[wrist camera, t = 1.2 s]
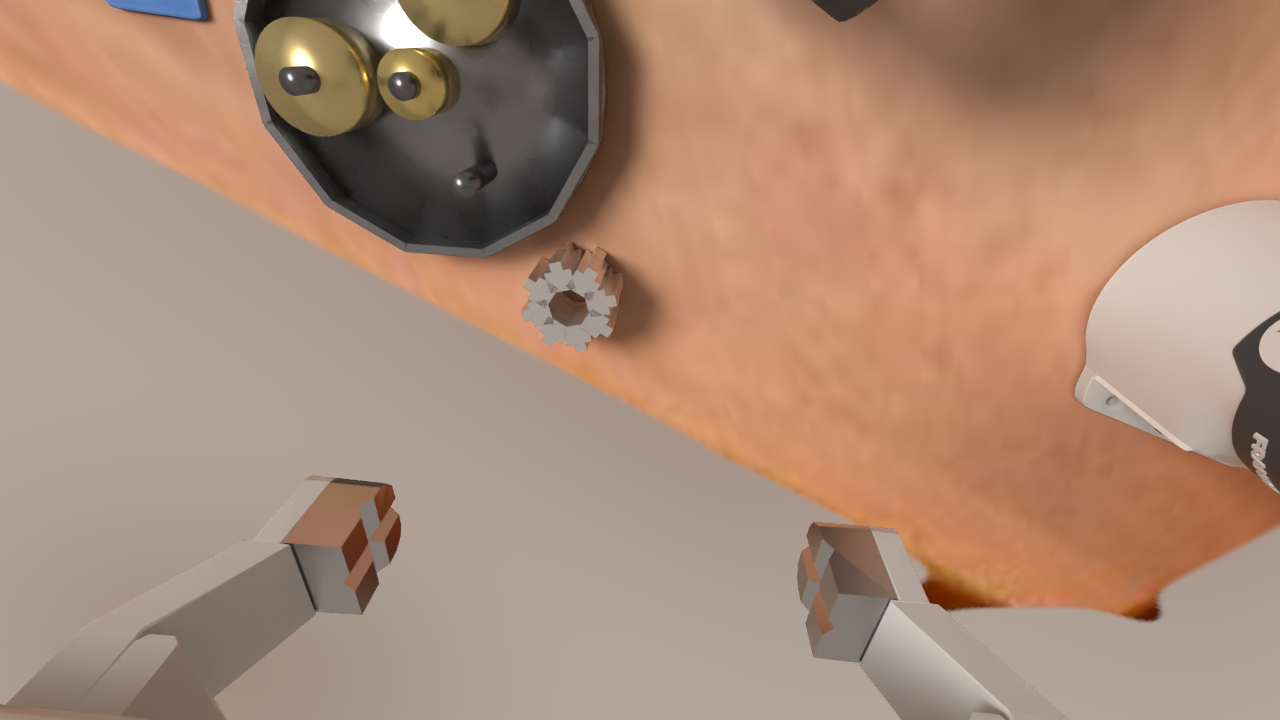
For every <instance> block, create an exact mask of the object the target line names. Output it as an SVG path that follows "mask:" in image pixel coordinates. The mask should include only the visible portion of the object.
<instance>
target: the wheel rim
mask: <svg viewBox="0 0 1280 720" xmlns="http://www.w3.org/2000/svg"><path fill="white" fill-rule="evenodd" d="M812 1H813V2H814V3H815V4H817V5H818V6H819V7H820V8H822V9H823V10H824V11H825V12H827V13H828V14H829V15H830V16H832V17H833V18H834V19H836V20H837V21H838V22H841V21H846V20H848V19H851V18H853V17H855V16H857V15H858V14H860V13H861V12H863V11H864V10H865V9H867V8H868V7H870V6H871V5H873V4H874V3H875V2H877V1H878V0H812Z"/></svg>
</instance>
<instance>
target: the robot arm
mask: <svg viewBox="0 0 1280 720" xmlns="http://www.w3.org/2000/svg"><path fill="white" fill-rule="evenodd" d="M1074 396H1075V398H1076V400H1078V401H1079V402H1080V403H1082V404H1083V405H1084V406H1086V407H1087V408H1089V409H1092V410H1094V411H1096V412H1099V413H1101V414H1104V415H1106V416H1109V417H1111V418H1113V419H1116V420H1118V421H1121V422H1123V423H1125V424H1128V425H1130V426H1133V427H1135V428H1138V429H1140V430H1142V431H1145V432H1147V433H1150V434H1152V435H1155V436H1157V437H1159V438H1162V439H1164V440H1167V441H1169V442H1172V443H1174V444H1176V445H1177V446H1178V447H1180V448H1181V449H1183V450H1185V451H1193V452H1196V453H1198V454H1201V455H1203V456H1206V457H1208V458H1210V459H1213V460H1215V461H1218V462H1220V463H1223V464H1225V465H1228V466H1232V467H1241V468H1244V469H1247V470H1250V471H1253V472H1254V473H1255V474H1256V475H1258V476H1259V477H1260V479H1261V480H1262V481H1263V482H1264V483H1265V484H1266V485H1267V486H1268V487H1270V488H1271V489H1273V490H1274V491H1275V492H1277V493H1278V494H1279V495H1280V200H1255V201H1247V202H1241V203H1235V204H1231V205H1226V206H1222V207H1219V208H1216V209H1212V210H1210V211H1207V212H1204V213H1201V214H1199V215H1196V216H1194V217H1192V218H1190V219H1187V220H1185V221H1183V222H1181V223H1179V224H1177V225H1175V226H1174V227H1172V228H1170V229H1168V230H1167V231H1165V232H1163V233H1162V234H1160V235H1159V236H1157V237H1156V238H1154V239H1153V240H1151V241H1150V242H1148V243H1147V244H1146V245H1144V246H1143V247H1142V248H1141V249H1139V250H1138V251H1137V252H1136V253H1135V254H1134V255H1132V256H1131V257H1130V258H1129V259H1128V260H1127V261H1126V262H1125V263H1124V264H1123V265H1122V266H1121V267H1120V268H1119V269H1118V270H1117V271H1116V273H1115V274H1114V275H1113V276H1112V277H1111V279H1110V280H1109V281H1108V283H1107V284H1106V285H1105V287H1104V288H1103V290H1102V291H1101V293H1100V295H1099V296H1098V298H1097V300H1096V302H1095V304H1094V306H1093V308H1092V311H1091V314H1090V317H1089V320H1088V324H1087V329H1086V365H1085V367H1084V369H1083V371H1082V373H1081V375H1080V377H1079V379H1078V382H1077V384H1076V387H1075V392H1074ZM1109 397H1111V398H1109ZM1108 398H1109V399H1108ZM394 500H395V495H394V491H393V488H392V486H391V485H389V484H385V483H376V482H368V481H359V480H349V479H342V478H329V477H320V476H310V477H308V478H306V479H304V480H303V481H302V482H301V483H300V484H299V486H298V487H297V488H296V489H295V490H294V491H293V493H292V494H291V495H290V496H289V497H288V499H287V500H286V501H285V502H284V503H283V505H282V506H281V507H280V508H279V509H278V510H277V512H276V513H275V514H274V515H273V517H272V518H271V519H270V520H269V521H268V522H267V524H266V525H265V526H264V527H263V529H262V530H261V531H260V532H259V533H258V534H257V535H256V537H255V538H254V539H253V540H252V541H246V540H244V541H242V542H240V543H238V544H236V545H234V546H232V547H231V548H229V549H227V550H225V551H223V552H221V553H219V554H217V555H216V556H214V557H212V558H210V559H208V560H206V561H204V562H202V563H201V564H199V565H197V566H195V567H193V568H191V569H189V570H187V571H185V572H184V573H182V574H180V575H178V576H176V577H174V578H172V579H170V580H169V581H167V582H165V583H163V584H161V585H159V586H157V587H156V588H154V589H152V590H150V591H148V592H146V593H144V594H142V595H140V596H139V597H137V598H135V599H133V600H131V601H129V602H127V603H125V604H124V605H122V606H120V607H118V608H116V609H114V610H112V611H111V612H109V613H107V614H105V615H103V616H101V617H99V618H97V619H95V620H94V621H92V622H90V623H88V624H86V625H85V626H84V627H83V628H82V629H81V630H80V631H79V632H78V633H77V634H76V635H75V636H74V637H73V638H72V639H71V640H70V641H69V642H68V643H67V644H66V645H65V646H64V647H63V648H62V649H61V650H60V651H59V652H58V653H57V654H56V655H55V656H54V657H53V658H52V659H51V660H50V661H49V662H48V663H47V664H46V665H45V666H44V667H43V668H42V669H41V670H40V671H39V672H38V673H37V674H36V675H35V676H34V677H33V678H32V679H31V680H30V681H29V682H28V683H27V684H26V685H25V686H24V687H23V688H22V689H21V690H20V691H19V692H18V693H17V694H16V695H15V696H14V697H13V698H12V699H11V700H10V701H9V702H8V703H7V704H6V705H0V720H226V717H225V716H224V714H223V712H222V711H221V709H220V708H219V706H218V704H217V703H216V701H215V700H214V697H215V696H216V695H217V694H218V693H220V692H221V691H222V690H223V689H224V688H226V687H227V686H228V685H230V684H231V683H232V682H233V681H235V680H236V679H237V678H238V677H240V676H241V675H242V674H243V673H244V672H245V671H247V670H248V669H249V668H251V667H252V666H253V665H254V664H256V663H257V662H258V661H259V660H260V659H262V658H263V657H264V656H265V655H267V654H268V653H269V652H270V651H272V650H273V649H274V648H275V647H277V646H278V645H279V644H280V643H281V642H283V641H284V640H285V639H286V638H288V637H289V636H290V635H291V634H293V633H294V632H295V631H296V630H297V629H299V628H300V627H301V626H302V625H304V624H305V623H306V622H307V621H309V620H310V619H311V618H312V617H313V616H315V615H316V612H327V613H342V614H358V615H362V614H363V612H364V610H365V609H366V607H367V605H368V603H369V601H370V599H371V598H372V595H373V594H374V592H375V590H376V588H377V586H378V585H379V581H378V577H377V572H378V571H380V570H381V569H383V568H384V567H385V566H387V565H388V564H390V562H391V561H392V559H393V556H394V555H395V553H396V551H397V547H398V543H399V540H400V536H401V522H400V517H399V514H398V513H397V512H395V510H394V509H392V508H391V507H390V506H391V505H392V503H393V501H394ZM807 539H808V543H809V547H807V548H806V549H805V550H803V551H802V552H801V556H800V559H799V563H798V574H797V580H798V590H799V595H800V600H801V602H802V603H803V604H804V605H805V607H806V608H807V609H808V610H809V611H810V612H809V615H808V618H807V621H806V627H807V632H808V636H809V640H810V645H811V649H812V654H813V657H815V658H824V659H832V660H840V661H848V662H857V663H860V666H861V668H862V669H863V670H864V672H865V673H866V674H867V676H868V677H869V678H870V679H871V681H872V682H873V683H874V685H875V686H876V687H877V688H878V690H879V691H880V692H881V694H882V695H883V696H884V698H885V699H886V700H887V701H888V703H889V704H890V705H891V707H892V708H893V709H894V710H895V711H896V713H897V714H898V716H899V717H900V718H901V719H902V720H1069V719H1068V718H1067V717H1066V716H1065V715H1064V714H1063V713H1062V712H1060V711H1059V710H1058V709H1057V708H1056V707H1055V706H1054V705H1052V704H1051V703H1050V702H1049V701H1048V700H1047V699H1045V698H1044V697H1043V696H1042V695H1041V694H1040V693H1039V692H1038V691H1036V690H1035V689H1034V688H1033V687H1032V686H1031V685H1030V684H1028V683H1027V682H1026V681H1025V680H1024V679H1023V678H1022V677H1020V676H1019V675H1018V674H1017V673H1016V672H1015V671H1014V670H1012V669H1011V668H1010V667H1009V666H1008V665H1007V664H1006V663H1004V662H1003V661H1002V660H1001V659H1000V658H999V657H998V656H996V655H995V654H994V653H993V652H992V651H991V650H990V649H988V648H987V647H986V646H985V645H984V644H983V643H982V642H980V641H979V640H978V639H977V638H976V637H975V636H974V635H972V634H971V633H970V632H969V631H968V630H967V629H966V628H964V627H963V626H962V625H961V624H960V623H959V622H958V621H956V620H955V619H954V618H953V617H952V616H951V615H950V614H948V613H947V612H946V611H945V610H944V609H943V608H942V607H941V606H939V605H938V604H930V603H929V600H928V598H927V596H926V594H925V592H924V589H923V587H922V585H921V583H920V581H919V578H918V576H917V574H916V572H915V570H914V567H913V565H912V563H911V561H910V559H909V556H908V554H907V552H906V550H905V547H904V545H903V543H902V541H901V539H900V536H899V534H898V532H896V531H895V530H894V529H893V528H883V527H871V526H866V527H865V526H860V525H847V524H834V523H822V522H813V523H812V524H811V526H810V527H809V531H808V533H807Z"/></svg>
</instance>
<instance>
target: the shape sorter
mask: <svg viewBox="0 0 1280 720" xmlns="http://www.w3.org/2000/svg"><path fill="white" fill-rule="evenodd" d="M105 1H106V2H107V3H108V4H109V5H110V6H112V7H115V8H119V9H125V10H132V11H138V12H145V13H152V14H159V15H166V16H173V17H180V18H188V19H195V20H206V19H207V17H208V13H207V9H206V4H205V0H105Z"/></svg>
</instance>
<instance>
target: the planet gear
mask: <svg viewBox="0 0 1280 720" xmlns="http://www.w3.org/2000/svg"><path fill="white" fill-rule="evenodd" d="M606 253H607V252H605V251H603V250H602V249H600V248H599V247H597V248H596V249H595V251H594V252H593V253H592V252H590V251H589V250H586V252H585V253H584V255H583V253H582V249H581V248H580V249H574V246H573V242H567V243H562V244H561V245H560V247H559V248H558V250H557V251H556V253H555V254H554V256H552V258H551V260H550V261H548V260H547V259H545V258H544V257H542V258H541V260H540V261H539V263H538V264H537V265H536V267H535V268H534V270H533V271H532V273H531V274H530V276H529V277H528V279H527V280H526V282H525V284H524V286H523V288H525V289H526V290H528V291H530V294H529V296H528V297H527V298H529V299H528V301H527V302H526V304H525V305H524V307H523V309H522V310H521V313H522V316H523V318H524V321H531V320H533V322H534V325H535V327H536V326H541V328H540V330H539V331H540V332H541V333H543V334H544V336H543V338H542V340H541V341H542V342H544V343H546V344H548V345H549V346H552V345H553V343H554V342H555V341H557V342H559V343H560V344H562V343H563V341H564V340H566V343H567V345H572V344H574V346H575V349H576V352H577V351H583V350H587V349H588V346H589V343H590V342H591V341H592V339H593V337H594V338H597V337H598V336H599V334H602V335H604V336H605V337H607V338H608V336H609V335H610V334H611V332H612V331H613V329H614V326H615V322H616V318H617V315H618V311H619V308H620V304H618V302H619V299H620V295H621V292H622V288H623V285H624V280H623V276H622V273H616V274H613V270H612V268H607V266H608V262H606V261H604V258H605V256H606ZM606 268H607V269H606ZM566 290H572V291H574V292H576V293H577V294H579V295H580V296H582V297H584V298H585V300H586V301H583V302H576V301H574V300H572V299H571V298H569V297H567V296H566V295H565V294H564V291H566Z"/></svg>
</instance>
